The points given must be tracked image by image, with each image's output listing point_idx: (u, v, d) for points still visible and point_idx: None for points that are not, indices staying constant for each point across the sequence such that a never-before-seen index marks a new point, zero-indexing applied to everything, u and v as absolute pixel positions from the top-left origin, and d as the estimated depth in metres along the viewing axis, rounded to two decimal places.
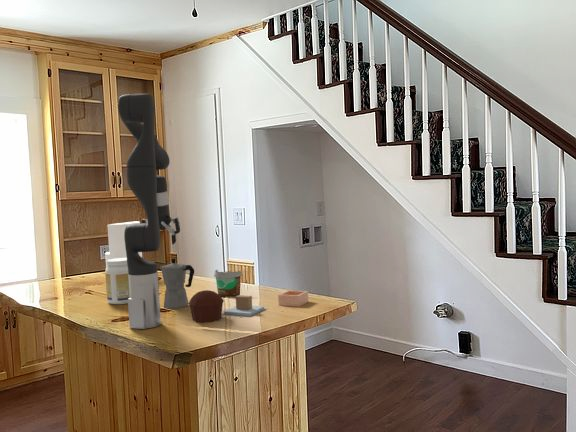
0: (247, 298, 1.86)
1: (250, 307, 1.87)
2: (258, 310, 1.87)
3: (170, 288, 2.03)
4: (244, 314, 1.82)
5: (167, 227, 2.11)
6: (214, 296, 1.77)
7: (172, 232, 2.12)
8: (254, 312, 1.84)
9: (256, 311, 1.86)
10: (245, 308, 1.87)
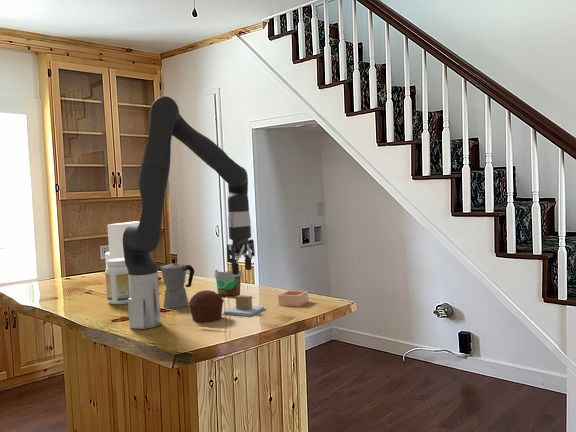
0: (247, 298, 1.86)
1: (250, 307, 1.87)
2: (258, 310, 1.87)
3: (170, 288, 2.03)
4: (244, 314, 1.82)
5: None
6: (214, 296, 1.77)
7: None
8: (254, 312, 1.84)
9: (256, 311, 1.86)
10: (245, 308, 1.87)
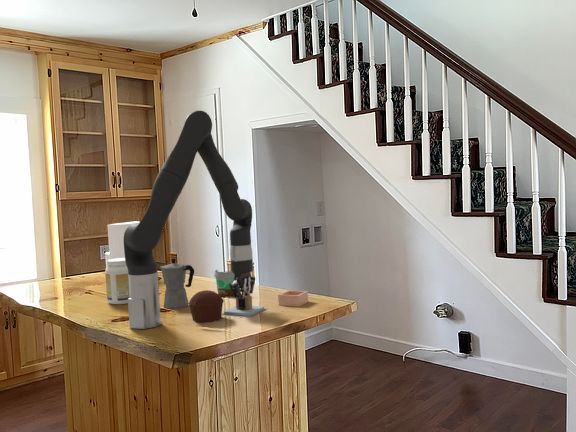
0: (247, 298, 1.86)
1: (250, 307, 1.87)
2: (258, 310, 1.87)
3: (170, 288, 2.03)
4: (244, 314, 1.82)
5: None
6: (214, 296, 1.77)
7: None
8: (254, 312, 1.84)
9: (256, 311, 1.86)
10: (245, 308, 1.87)
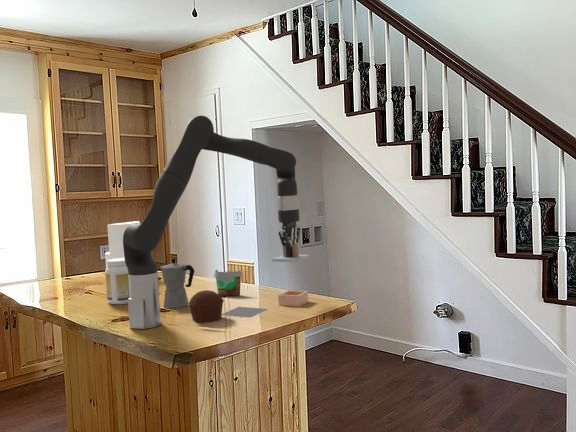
0: (294, 246, 1.95)
1: (297, 255, 1.96)
2: (305, 257, 1.96)
3: (170, 288, 2.03)
4: (293, 260, 1.91)
5: None
6: (214, 296, 1.77)
7: None
8: (301, 259, 1.93)
9: (303, 258, 1.94)
10: None
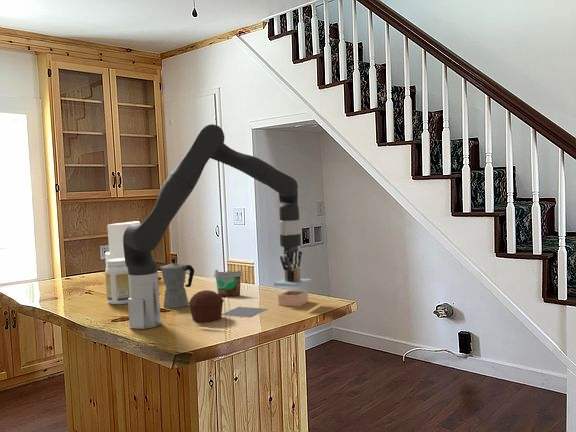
0: (296, 270, 1.95)
1: (299, 279, 1.96)
2: (306, 282, 1.96)
3: (170, 288, 2.03)
4: (294, 285, 1.91)
5: None
6: (214, 296, 1.77)
7: None
8: (303, 283, 1.94)
9: (305, 283, 1.95)
10: (294, 280, 1.96)
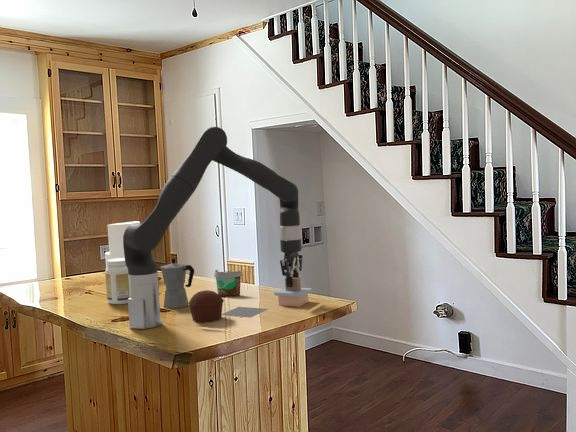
0: (296, 280, 1.95)
1: (299, 288, 1.96)
2: (307, 291, 1.96)
3: (170, 288, 2.03)
4: (294, 294, 1.92)
5: None
6: (214, 296, 1.77)
7: None
8: (303, 293, 1.94)
9: (305, 292, 1.95)
10: (294, 289, 1.96)
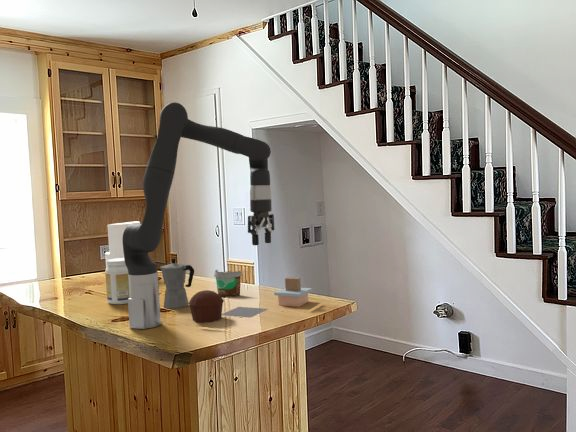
0: (296, 280, 1.95)
1: (299, 288, 1.96)
2: (307, 291, 1.96)
3: (170, 288, 2.03)
4: (294, 294, 1.92)
5: None
6: (214, 296, 1.77)
7: None
8: (303, 293, 1.94)
9: (305, 292, 1.95)
10: (294, 289, 1.96)
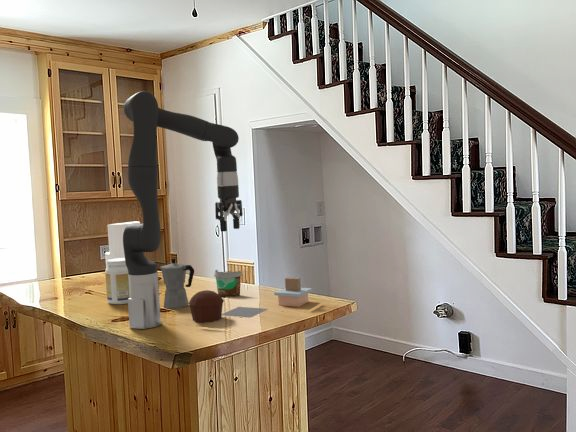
0: (296, 280, 1.95)
1: (299, 288, 1.96)
2: (307, 291, 1.96)
3: (170, 288, 2.03)
4: (294, 294, 1.92)
5: None
6: (214, 296, 1.78)
7: None
8: (303, 293, 1.94)
9: (305, 292, 1.95)
10: (294, 289, 1.96)
